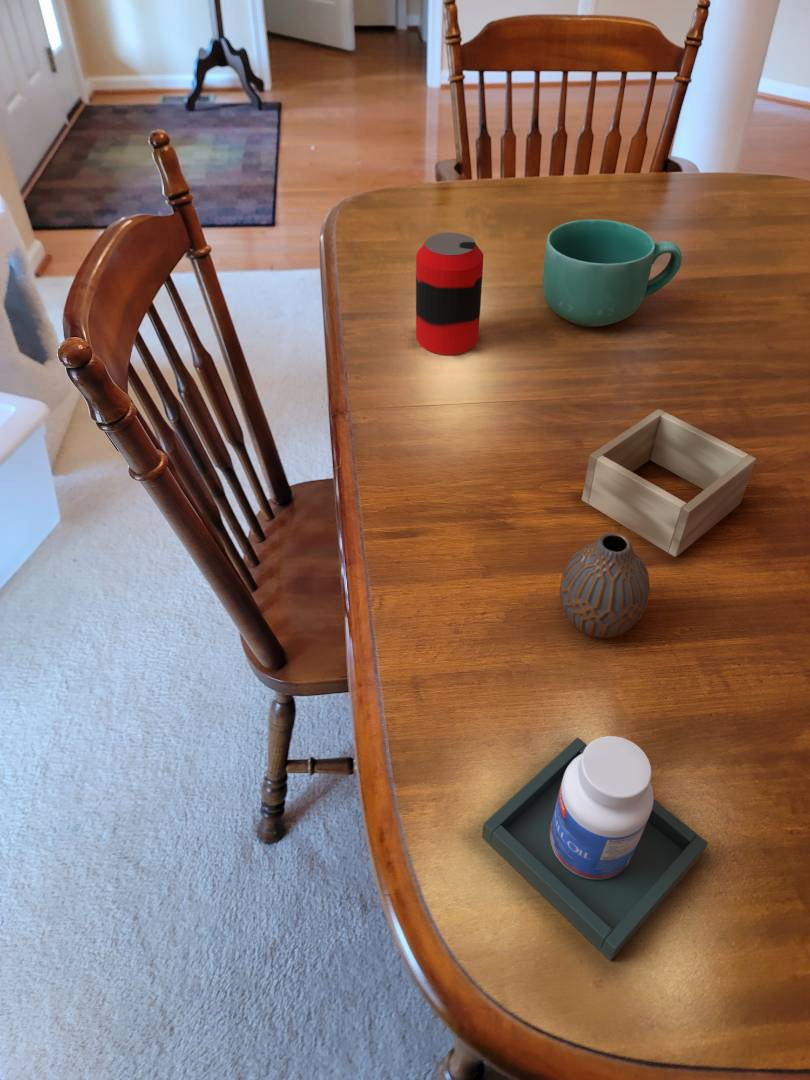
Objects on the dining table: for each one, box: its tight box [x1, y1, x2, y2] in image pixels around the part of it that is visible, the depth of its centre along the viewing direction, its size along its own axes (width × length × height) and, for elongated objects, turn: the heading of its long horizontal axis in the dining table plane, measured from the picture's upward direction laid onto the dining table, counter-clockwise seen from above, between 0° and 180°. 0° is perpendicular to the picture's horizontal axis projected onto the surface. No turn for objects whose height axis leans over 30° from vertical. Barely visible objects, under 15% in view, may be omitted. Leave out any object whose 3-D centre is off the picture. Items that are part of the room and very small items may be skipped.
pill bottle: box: [550, 735, 655, 880], centre depth 51 cm, size 6×5×10 cm
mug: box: [542, 218, 683, 328], centre depth 102 cm, size 17×13×10 cm
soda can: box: [415, 232, 484, 356], centre depth 97 cm, size 8×8×12 cm
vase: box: [559, 531, 651, 639], centre depth 66 cm, size 7×7×9 cm
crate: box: [581, 408, 757, 558], centre depth 77 cm, size 11×11×6 cm
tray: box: [481, 737, 709, 962], centre depth 54 cm, size 11×10×2 cm
